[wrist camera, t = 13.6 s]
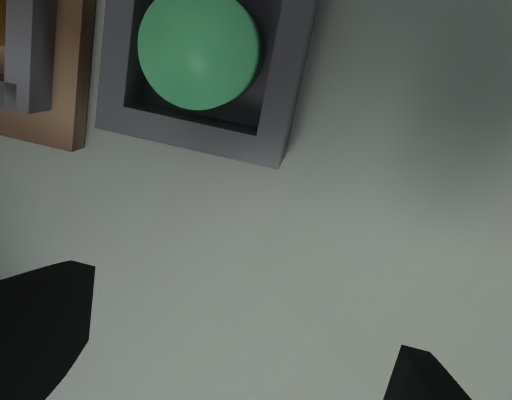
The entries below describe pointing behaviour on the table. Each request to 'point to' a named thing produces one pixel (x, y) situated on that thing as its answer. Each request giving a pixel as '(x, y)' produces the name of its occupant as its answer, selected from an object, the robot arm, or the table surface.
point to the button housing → (221, 117)
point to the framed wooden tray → (46, 71)
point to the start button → (200, 51)
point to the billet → (2, 22)
